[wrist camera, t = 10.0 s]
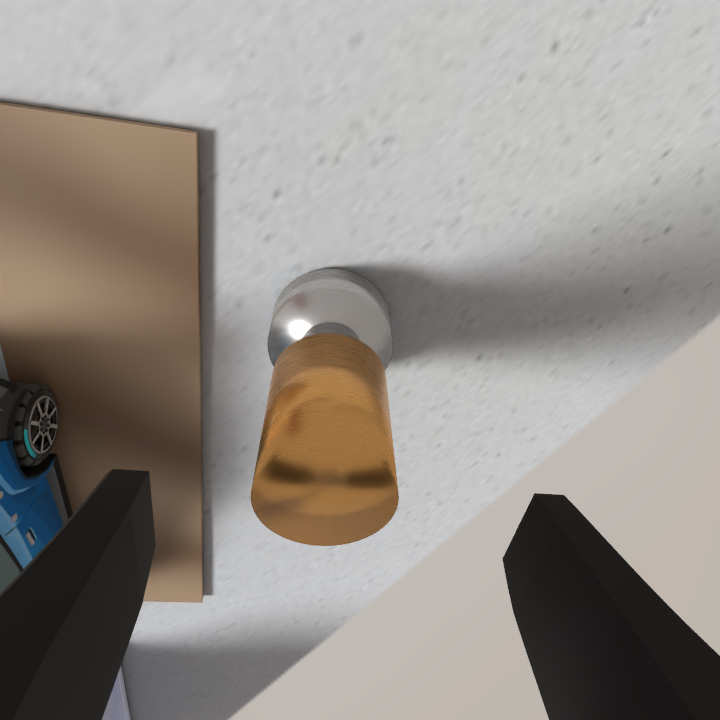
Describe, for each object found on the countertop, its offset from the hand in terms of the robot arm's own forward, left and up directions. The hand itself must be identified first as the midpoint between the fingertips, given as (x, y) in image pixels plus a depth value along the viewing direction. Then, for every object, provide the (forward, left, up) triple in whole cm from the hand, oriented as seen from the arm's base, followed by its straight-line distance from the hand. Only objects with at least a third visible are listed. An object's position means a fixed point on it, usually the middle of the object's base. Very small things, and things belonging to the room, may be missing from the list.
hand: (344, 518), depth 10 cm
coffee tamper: (0, 0, -8) cm, 8 cm away
